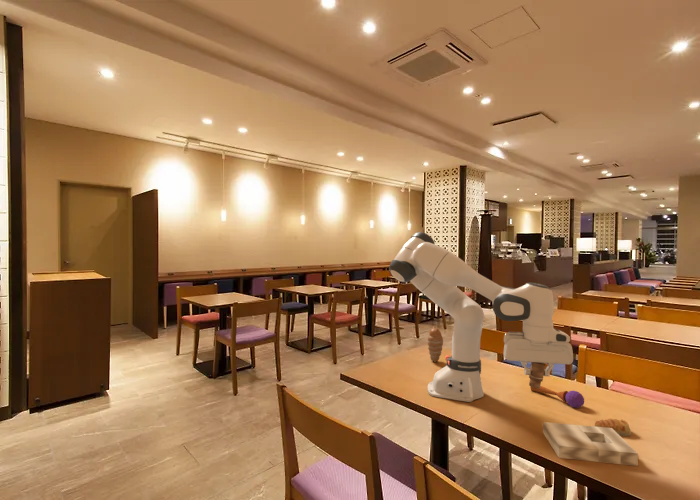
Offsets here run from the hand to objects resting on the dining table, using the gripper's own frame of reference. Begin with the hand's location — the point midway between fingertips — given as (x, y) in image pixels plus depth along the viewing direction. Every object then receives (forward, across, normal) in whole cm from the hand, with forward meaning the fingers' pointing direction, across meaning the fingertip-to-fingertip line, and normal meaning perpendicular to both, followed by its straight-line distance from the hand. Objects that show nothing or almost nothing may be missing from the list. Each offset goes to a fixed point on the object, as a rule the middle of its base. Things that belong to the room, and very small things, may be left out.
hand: (536, 375), depth 118 cm
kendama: (+19, +16, +28) cm, 37 cm away
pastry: (+19, +26, +5) cm, 32 cm away
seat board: (+19, +12, -7) cm, 23 cm away
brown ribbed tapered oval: (+19, -29, +65) cm, 74 cm away
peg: (+4, -1, 0) cm, 4 cm away
